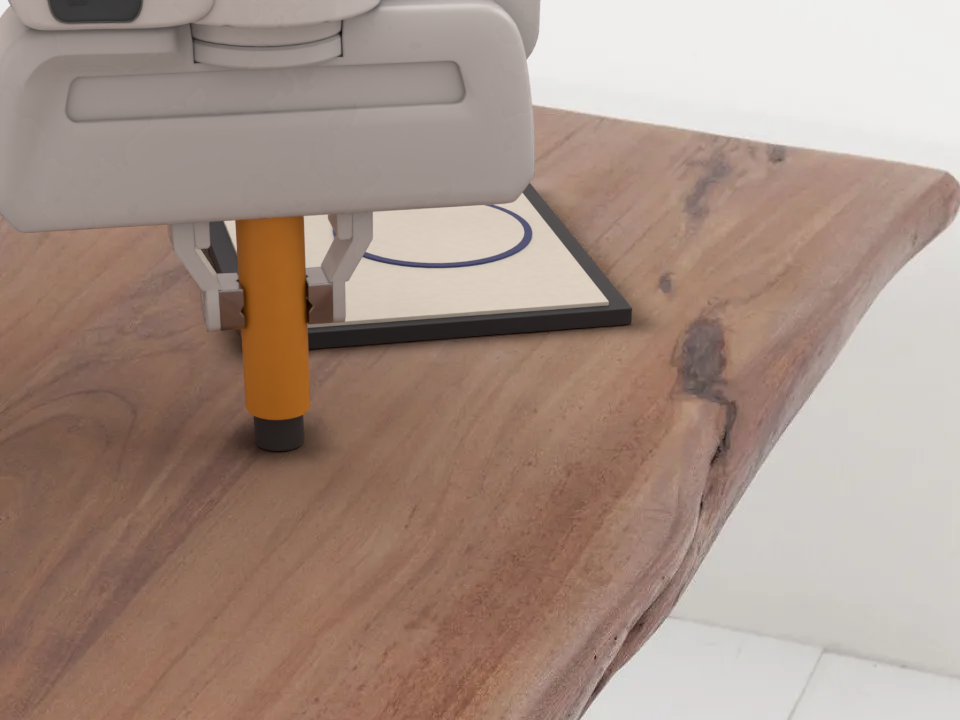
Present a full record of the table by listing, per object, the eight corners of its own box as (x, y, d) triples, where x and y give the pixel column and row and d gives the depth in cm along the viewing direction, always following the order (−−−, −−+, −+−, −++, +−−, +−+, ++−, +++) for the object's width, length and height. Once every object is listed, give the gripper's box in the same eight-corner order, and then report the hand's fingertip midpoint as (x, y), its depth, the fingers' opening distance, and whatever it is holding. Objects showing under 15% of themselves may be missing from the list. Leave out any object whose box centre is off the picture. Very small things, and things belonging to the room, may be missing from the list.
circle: (353, 274, 89) (353, 272, 89) (316, 204, 97) (316, 202, 97) (555, 260, 92) (555, 258, 92) (503, 193, 99) (503, 190, 99)
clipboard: (247, 354, 84) (245, 322, 83) (196, 217, 98) (194, 188, 97) (631, 324, 88) (633, 293, 87) (529, 197, 102) (530, 169, 101)
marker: (251, 458, 76) (233, 131, 68) (241, 429, 78) (223, 109, 70) (318, 452, 76) (307, 127, 69) (306, 424, 78) (295, 106, 71)
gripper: (519, -81, 71) (508, 275, 79) (-42, -66, 66) (7, 310, 74) (566, -42, 66) (549, 333, 74) (-37, -23, 61) (15, 375, 69)
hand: (273, 322), depth 74 cm, fingers closed on marker, 2 cm apart
